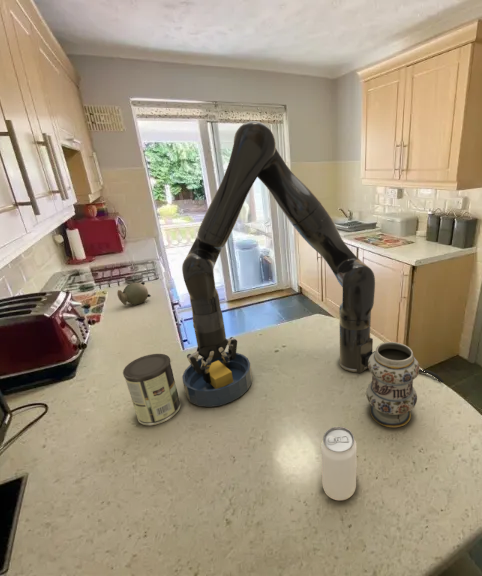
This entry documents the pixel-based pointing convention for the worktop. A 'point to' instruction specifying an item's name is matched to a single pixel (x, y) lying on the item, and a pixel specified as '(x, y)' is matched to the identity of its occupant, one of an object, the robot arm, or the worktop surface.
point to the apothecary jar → (392, 384)
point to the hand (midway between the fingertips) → (218, 377)
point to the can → (338, 463)
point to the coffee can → (152, 388)
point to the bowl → (210, 396)
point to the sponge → (220, 375)
